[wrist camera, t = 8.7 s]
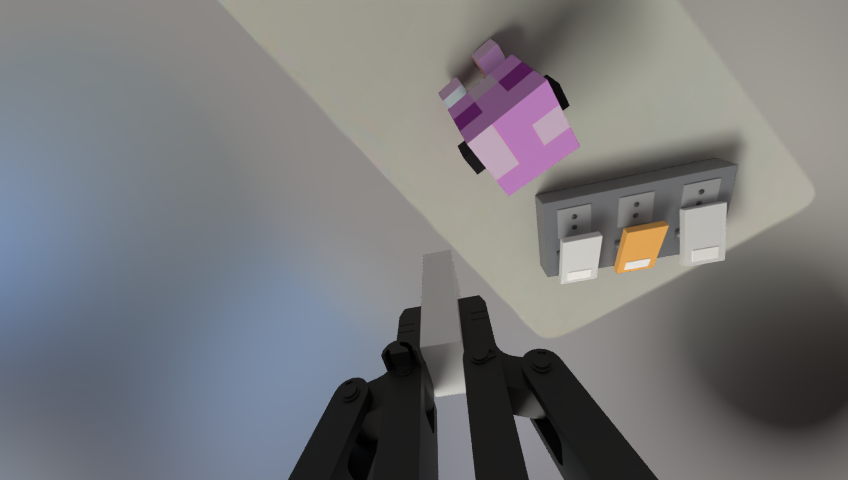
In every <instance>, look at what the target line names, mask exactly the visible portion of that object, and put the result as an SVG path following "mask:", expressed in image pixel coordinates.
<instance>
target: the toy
mask: <svg viewBox="0 0 848 480" xmlns="http://www.w3.org/2000/svg"><path fill="white" fill-rule="evenodd" d="M471 56H472V58H473V60H474V61H475V63H476V64H477V66H478V67H479V69H480V71H481V72H482V74H483V75H484V76H485V78H484V79H483V80H482V81H480V82H479V83H478V84H477V85H476V86H475V87H474V88H472V89H471V90H470V91H469V92H467V91H466V89H465V88H464V86H463V85H462V84H461V82H460V81H459V80H458V78H457V77H455V78H454V79H453V80H452V81H451V82H450V83H449V84H448V85H446V86H445V87H444V88H443V89H442V90H441V91H440V92H439V95H440V97H441V98H442V100H443V102H444V103H445V104H446V106H447V107H448V108H449V109H448V111H449V113H450V115H451V116H452V118H453V120H454V122H455V124H456V125H457V127H458V129H459V131H460V133H461V134H462V136H463V138H464V140H465V141H463V142H462V143H461V144H460V145H458V148H459V150H460V152H461V154H462V156H463V158H464V159H465V160H466V161H467V163H468V164H469V165H470V166H471V167H472V169H473V170H474V171H475V172H476V173H477V174H479V173H480V172H482V171H483V170H484V169H486V168H487V170H488V171H489V172H490V173H491V175H492V176H493V177H494V178H495V180H496V181H497V182H498V183H499V185H500V186H501V187H502V188H503V190H504V191H505V192H506V193H507V195H508V196H510V195H511V194H512V193H514V192H515V191H517V190H518V189H520V188H521V187H522V186H524V185H525V184H527V183H528V182H530V181H531V180H533V179H534V178H535V177H537V176H538V175H540V174H541V173H543V172H544V171H546V170H547V169H548V168H550V167H551V166H553V165H554V164H556V163H557V162H559V161H560V160H561V159H563V158H564V157H566V156H567V155H569V154H570V153H572V152H573V151H574V150H576V149H577V148H579V147H580V145H579V143H578V141H577V139H576V137H575V135H574V133H573V131H572V129H571V127H570V125H569V123H568V121H567V119H566V117H565V115H564V113H563V110H564V109H566V108H567V107H568V106H570V105H569V103H568V101H567V99H566V97H565V95H564V93H563V90H562V88H561V86H560V84H559V83H558V82H556V81H555V80H554V79H552V78H551V77H549V76H548V75H545V76H544V77H543V76H541V75H540V74H539V73H537V72H536V71H534V70H533V69H532V68H530V67H529V66H527V65H526V64H525V63H523V62H522V61H521V60H519V59H518V58H516V57H515V56H514V55H510V56H509V57H508V58H507V59H506V58H505V56H504V54H503V53H502V51H501V49H500V47H499V46H498V44H497V43H496V42H494V41H493V40H492V39H489V40H488V41H486V42H485V43H484V44H483V45H482V46H481V47H480V48H479V49H478V50H477V51H475V52H474V53H473V54H472V55H471Z"/></svg>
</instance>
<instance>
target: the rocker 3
mask: <svg viewBox="0 0 848 480" xmlns="http://www.w3.org/2000/svg"><path fill="white" fill-rule="evenodd" d="M726 213H727V202H722V201H719V202H714V203H708V204H703V205H698V206H693V207H687V208H682V209H680V265H682V266H684V267H687V266H693V265H699V264H705V263H711V262H717V261H722V260H725V241H726Z"/></svg>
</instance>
